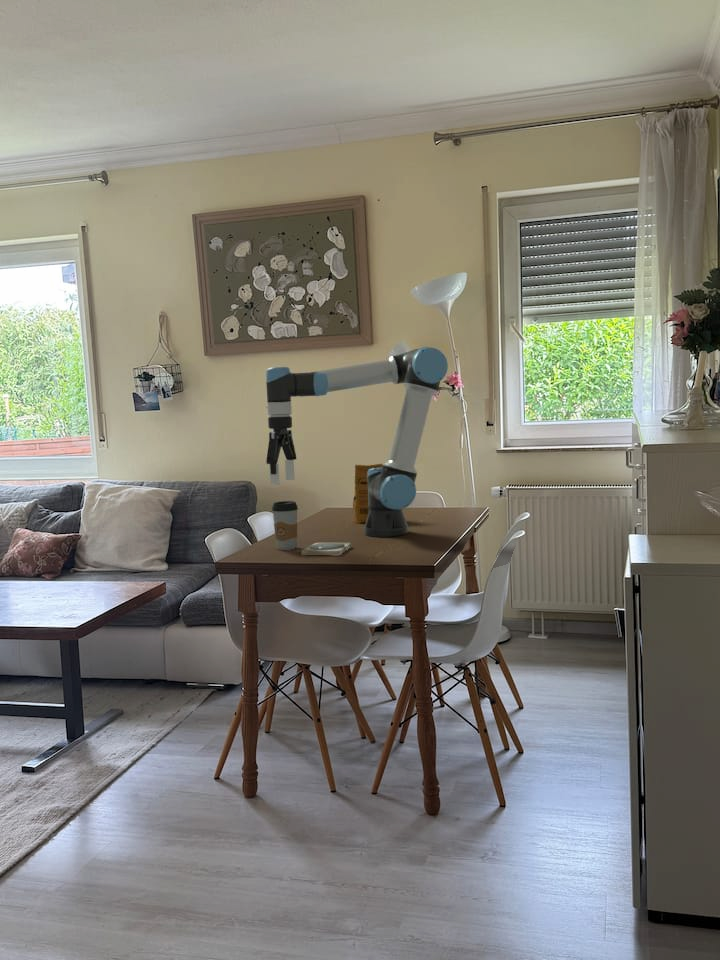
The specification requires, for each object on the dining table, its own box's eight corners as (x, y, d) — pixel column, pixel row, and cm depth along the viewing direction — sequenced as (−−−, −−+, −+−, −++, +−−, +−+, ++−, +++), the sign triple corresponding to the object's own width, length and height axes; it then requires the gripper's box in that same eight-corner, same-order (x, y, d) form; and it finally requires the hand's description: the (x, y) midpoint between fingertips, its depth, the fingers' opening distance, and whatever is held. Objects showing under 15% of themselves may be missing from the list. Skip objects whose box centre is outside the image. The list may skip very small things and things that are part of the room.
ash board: (316, 547, 279) (316, 541, 279) (351, 547, 275) (351, 542, 275) (301, 555, 265) (301, 550, 265) (338, 555, 262) (338, 550, 262)
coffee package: (354, 520, 333) (351, 463, 330) (386, 519, 332) (384, 462, 330) (352, 524, 323) (350, 465, 320) (385, 523, 322) (383, 464, 320)
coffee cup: (269, 550, 276) (267, 504, 274) (281, 545, 284) (278, 500, 282) (292, 551, 273) (290, 504, 271) (304, 546, 281) (301, 501, 279)
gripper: (282, 414, 287) (285, 478, 289) (253, 417, 263) (257, 486, 265) (304, 414, 285) (306, 477, 287) (276, 417, 261) (279, 486, 263)
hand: (282, 482), depth 276 cm, fingers open, 13 cm apart
